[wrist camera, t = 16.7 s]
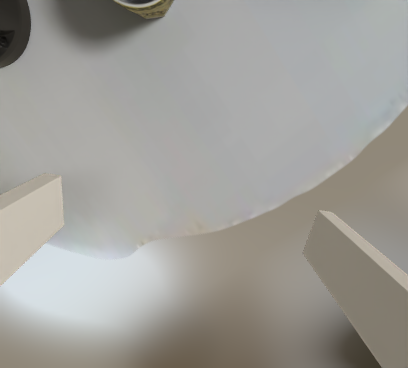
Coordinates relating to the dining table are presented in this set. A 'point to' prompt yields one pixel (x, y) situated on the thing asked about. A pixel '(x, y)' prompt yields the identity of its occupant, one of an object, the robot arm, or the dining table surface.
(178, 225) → the dining table surface
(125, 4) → the ceramic cup
